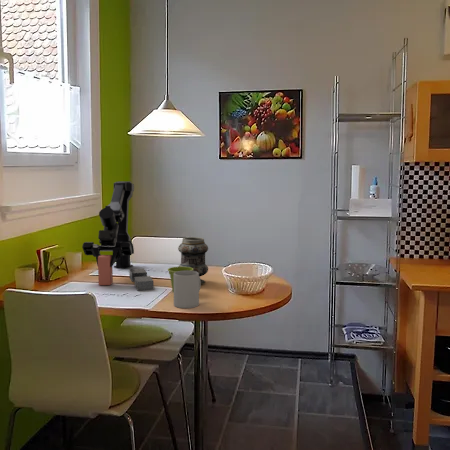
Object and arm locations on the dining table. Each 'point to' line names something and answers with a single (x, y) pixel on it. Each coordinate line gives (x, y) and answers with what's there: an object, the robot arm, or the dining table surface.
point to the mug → (186, 289)
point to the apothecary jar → (194, 255)
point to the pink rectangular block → (105, 270)
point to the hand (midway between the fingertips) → (104, 266)
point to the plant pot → (175, 269)
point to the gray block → (141, 279)
